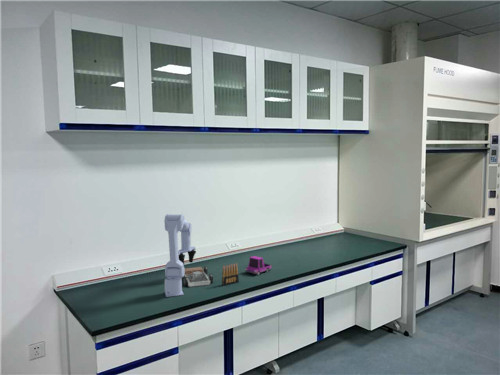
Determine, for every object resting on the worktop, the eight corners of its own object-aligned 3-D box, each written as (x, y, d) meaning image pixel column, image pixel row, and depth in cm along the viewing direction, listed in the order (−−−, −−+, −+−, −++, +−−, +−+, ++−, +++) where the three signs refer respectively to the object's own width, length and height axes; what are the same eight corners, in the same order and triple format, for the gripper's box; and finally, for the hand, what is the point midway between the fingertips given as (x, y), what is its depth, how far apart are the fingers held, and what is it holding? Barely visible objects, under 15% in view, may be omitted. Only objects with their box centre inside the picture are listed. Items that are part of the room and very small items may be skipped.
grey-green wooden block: (196, 282, 243) (196, 274, 243) (192, 280, 247) (192, 272, 247) (202, 281, 246) (202, 273, 245) (198, 279, 250) (198, 271, 249)
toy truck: (244, 273, 262) (244, 258, 261) (260, 267, 274) (259, 253, 273) (257, 276, 255) (256, 260, 254) (272, 270, 267) (272, 255, 266)
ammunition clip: (237, 281, 246) (236, 262, 244) (238, 282, 244) (238, 262, 243) (221, 285, 240) (221, 265, 238) (223, 286, 238) (223, 265, 237)
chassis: (185, 287, 236) (185, 279, 235) (179, 275, 259) (179, 267, 259) (213, 284, 241) (213, 276, 240) (205, 272, 264) (205, 264, 264)
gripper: (182, 245, 242) (182, 267, 243) (198, 240, 253) (199, 261, 255) (173, 243, 246) (174, 265, 247) (190, 239, 258) (191, 260, 259)
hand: (186, 263), depth 251 cm, fingers open, 7 cm apart
